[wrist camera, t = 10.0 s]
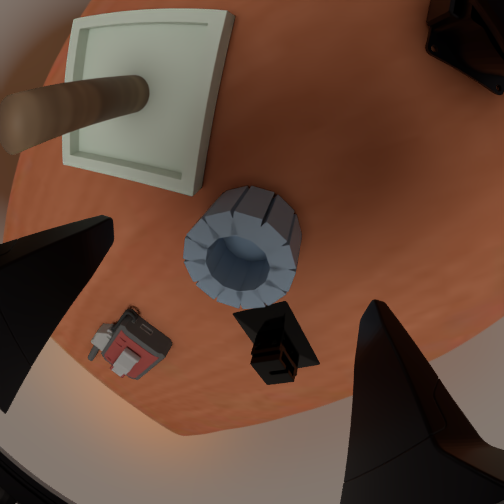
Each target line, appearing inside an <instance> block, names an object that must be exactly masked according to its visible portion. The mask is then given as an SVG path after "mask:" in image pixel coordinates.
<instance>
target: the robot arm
mask: <svg viewBox="0 0 504 504" xmlns="http://www.w3.org/2000/svg"><path fill="white" fill-rule="evenodd" d="M427 24H428V26H430V29H429V34H428V38H427V43H426V51H427V52H428V54H430V55H431V56H433V57H435V58H437V59H439V60H441V61H443V62H444V63H446V64H448V65H450V66H452V67H453V68H455V69H457V70H459V71H460V72H462V73H464V74H465V75H467V76H469V77H470V78H472V79H473V80H475V81H477V82H478V83H480V84H481V85H483V86H484V87H486V88H487V89H489V90H490V91H492V92H493V93H494V94H497V95H502V94H503V92H504V0H431V2H430V7H429V12H428V17H427ZM431 46H434V47H435V49H436V52H433V51H432V50H431ZM497 85H498V87H499V90H498V91H497V89H496V86H497ZM113 241H114V228H113V220H112V218H111V217H108V216H104V215H100V216H96V217H92V218H88V219H84V220H81V221H77V222H73V223H69V224H66V225H62V226H59V227H55V228H52V229H48V230H45V231H41V232H38V233H35V234H31V235H28V236H25V237H22V238H19V239H18V240H17V239H15V240H12V241H9V242H6V243H3V244H0V410H1V411H3V412H4V413H5V414H6V412H7V411H8V409H9V407H10V405H11V403H12V401H13V399H14V398H15V396H16V394H17V392H18V390H19V388H20V386H21V385H22V383H23V381H24V379H25V377H26V376H27V374H28V372H29V370H30V369H31V366H32V365H33V363H34V362H35V360H36V358H37V357H38V355H39V353H40V352H41V350H42V349H43V347H44V345H45V344H46V342H47V341H48V339H49V338H50V336H51V335H52V333H53V331H54V330H55V328H56V327H57V325H58V324H59V322H60V321H61V319H62V318H63V316H64V315H65V314H66V312H67V311H68V309H69V308H70V306H71V305H72V304H73V302H74V301H75V299H76V298H77V297H78V295H79V294H80V292H81V291H82V290H83V288H84V287H85V286H86V284H87V283H88V282H89V280H90V279H91V277H92V276H93V274H94V273H95V271H96V270H97V268H98V266H99V265H100V263H101V262H102V260H103V258H104V257H105V255H106V254H107V252H108V250H109V249H110V247H111V246H112V244H113ZM15 503H17V504H76V503H75V502H73V501H71V500H70V499H68V498H66V497H65V496H63V495H62V494H60V493H59V492H57V491H56V490H54V489H53V488H52V487H50V486H48V485H47V484H46V483H44V482H43V481H42V480H40V479H39V478H38V477H36V476H35V475H33V474H32V473H31V472H30V471H28V470H27V469H26V468H25V467H23V466H22V465H21V464H20V463H19V462H17V461H16V460H15V459H14V458H12V456H10V455H9V454H8V453H7V452H6V451H5V450H4V449H2V448H1V447H0V504H15ZM340 504H504V450H502V449H499V448H496V447H493V446H491V445H489V444H488V443H486V442H485V441H484V440H483V439H482V438H481V437H480V436H479V434H478V433H477V431H476V430H475V429H474V427H473V426H472V424H471V423H470V422H469V420H468V419H467V418H466V416H465V415H464V413H463V412H462V411H461V409H460V408H459V407H458V405H457V404H456V402H455V401H454V400H453V398H452V397H451V395H450V394H449V392H448V391H447V389H446V388H445V386H444V385H443V384H442V382H441V380H440V379H438V376H437V374H436V373H435V371H434V370H433V368H432V367H431V365H430V364H429V362H428V361H427V360H426V358H425V357H424V355H423V354H422V352H421V351H420V349H419V348H418V347H417V345H416V344H415V342H414V341H413V340H412V338H411V337H410V335H409V334H408V333H407V331H406V330H405V329H404V327H403V326H402V324H401V323H400V322H399V320H398V319H397V318H396V316H395V315H394V314H393V312H392V311H391V310H390V308H389V307H388V306H387V304H386V303H385V302H383V301H379V300H376V299H374V300H372V301H371V303H370V304H369V306H368V308H367V309H366V311H365V312H364V314H363V316H362V318H361V320H360V325H359V333H358V341H357V348H356V355H355V364H354V384H353V403H352V416H351V427H350V438H349V447H348V455H347V463H346V471H345V478H344V484H343V489H342V496H341V502H340Z"/></svg>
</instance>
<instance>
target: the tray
mask: <svg viewBox="0 0 504 504" xmlns="http://www.w3.org/2000/svg"><path fill="white" fill-rule="evenodd" d="M234 19H235V16H234V15H233V14H231V13H230V12H228V11H226V10H212V9H146V10H133V11H123V12H114V13H106V14H100V15H93V16H88V17H82V18H77V19H74V20H73V25H72V30H71V36H70V42H69V49H68V56H67V64H66V73H65V83H66V82H72V81H79V80H86V79H94V78H103V77H113V76H126V75H138V76H141V77H142V78H144V79H145V80H146V82H147V84H148V86H149V99H148V102H147V104H146V105H145V107H144V108H143V109H142V110H140V111H138V112H136V113H132V114H128V115H124V116H120V117H117V118H113V119H110V120H106V121H103V122H100V123H96V124H93V125H90V126H87V127H84V128H81V129H78V130H75V131H72V132H69V133H67V134H64V135H62V150H63V164H64V165H69V166H73V167H77V168H82V169H86V170H90V171H95V172H99V173H103V174H107V175H111V176H116V177H120V178H124V179H128V180H132V181H136V182H140V183H144V184H147V185H151V186H155V187H159V188H163V189H167V190H170V191H174V192H178V193H182V194H185V195H189V196H193V195H195V194H196V193H197V192H198V191H199V190H200V189H201V188H202V183H203V176H204V170H205V163H206V157H207V151H208V145H209V139H210V134H211V128H212V122H213V117H214V112H215V106H216V101H217V96H218V91H219V86H220V81H221V76H222V72H223V67H224V62H225V58H226V53H227V49H228V45H229V40H230V36H231V32H232V28H233V24H234Z"/></svg>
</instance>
